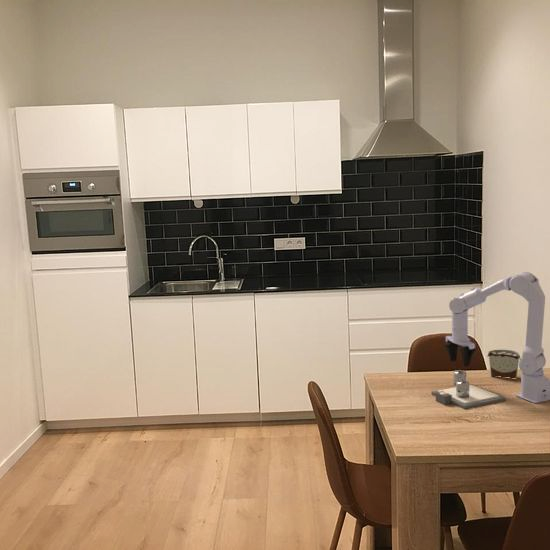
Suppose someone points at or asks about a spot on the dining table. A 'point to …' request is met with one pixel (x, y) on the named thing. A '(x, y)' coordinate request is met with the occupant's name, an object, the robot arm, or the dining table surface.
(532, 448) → the dining table surface
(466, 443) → the dining table surface
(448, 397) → the kitchen scale
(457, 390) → the steel spacer
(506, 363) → the food container
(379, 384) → the dining table surface
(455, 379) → the steel spacer
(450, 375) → the dining table surface
